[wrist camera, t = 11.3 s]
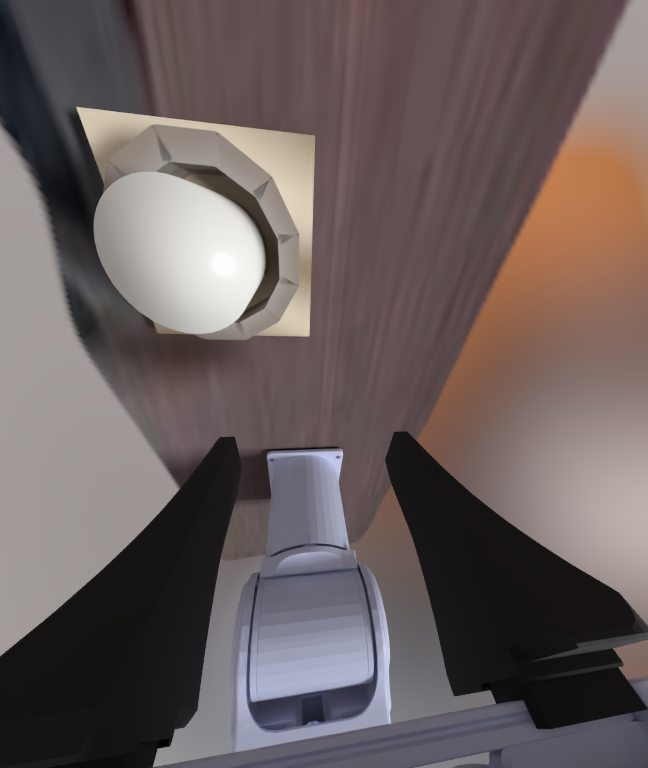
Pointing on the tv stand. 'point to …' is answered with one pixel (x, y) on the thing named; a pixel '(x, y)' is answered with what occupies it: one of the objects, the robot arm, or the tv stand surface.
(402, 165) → the tv stand surface
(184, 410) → the tv stand surface
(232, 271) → the white rounded piece
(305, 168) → the beige square plate
